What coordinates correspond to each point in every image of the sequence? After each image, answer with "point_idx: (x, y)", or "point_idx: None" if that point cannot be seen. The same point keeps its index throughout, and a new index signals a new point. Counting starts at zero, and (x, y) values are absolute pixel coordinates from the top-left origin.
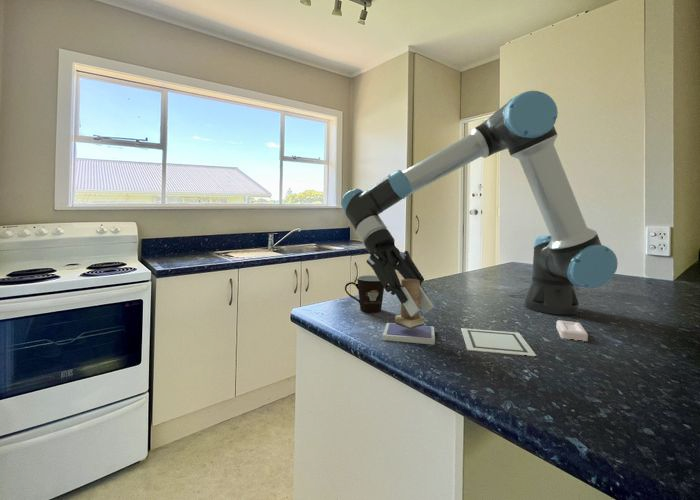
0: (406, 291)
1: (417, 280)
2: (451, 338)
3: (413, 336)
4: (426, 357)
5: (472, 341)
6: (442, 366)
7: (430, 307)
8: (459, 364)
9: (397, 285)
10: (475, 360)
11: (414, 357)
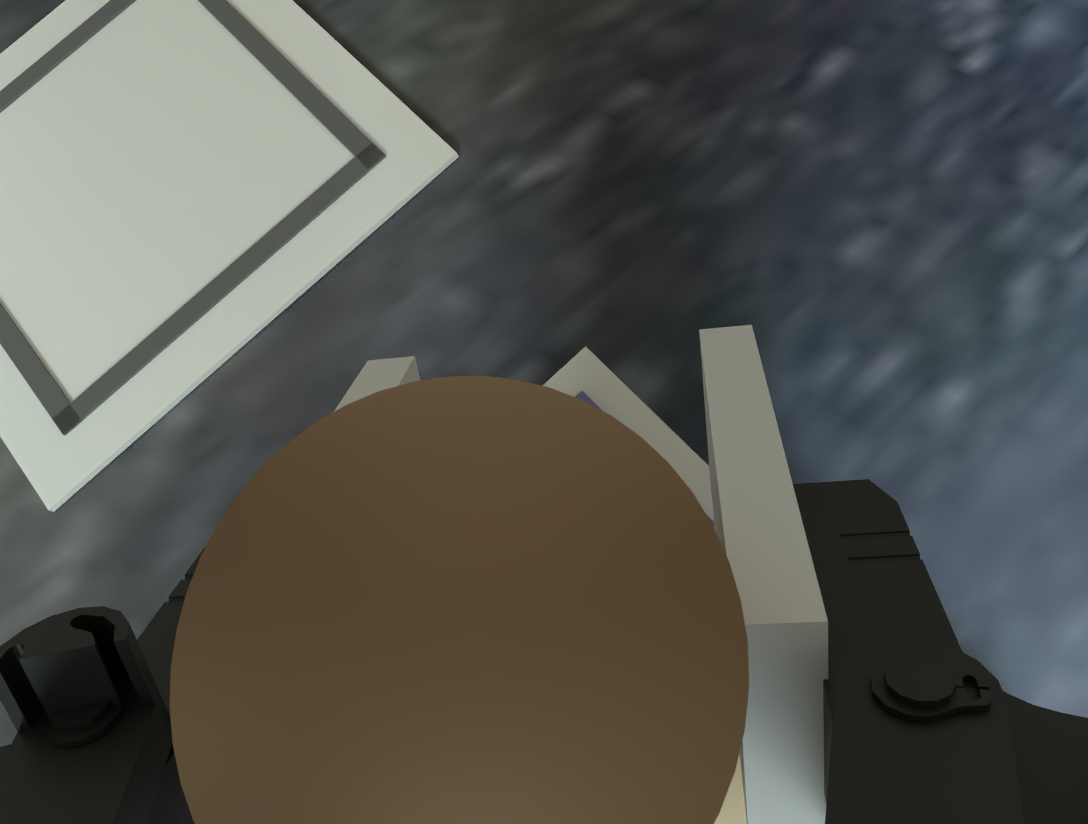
0: (771, 532)
1: (278, 537)
2: (339, 392)
3: (712, 521)
4: (868, 212)
5: (283, 231)
6: (872, 50)
7: (419, 380)
8: (727, 23)
9: (1004, 700)
10: (568, 21)
11: (969, 259)
